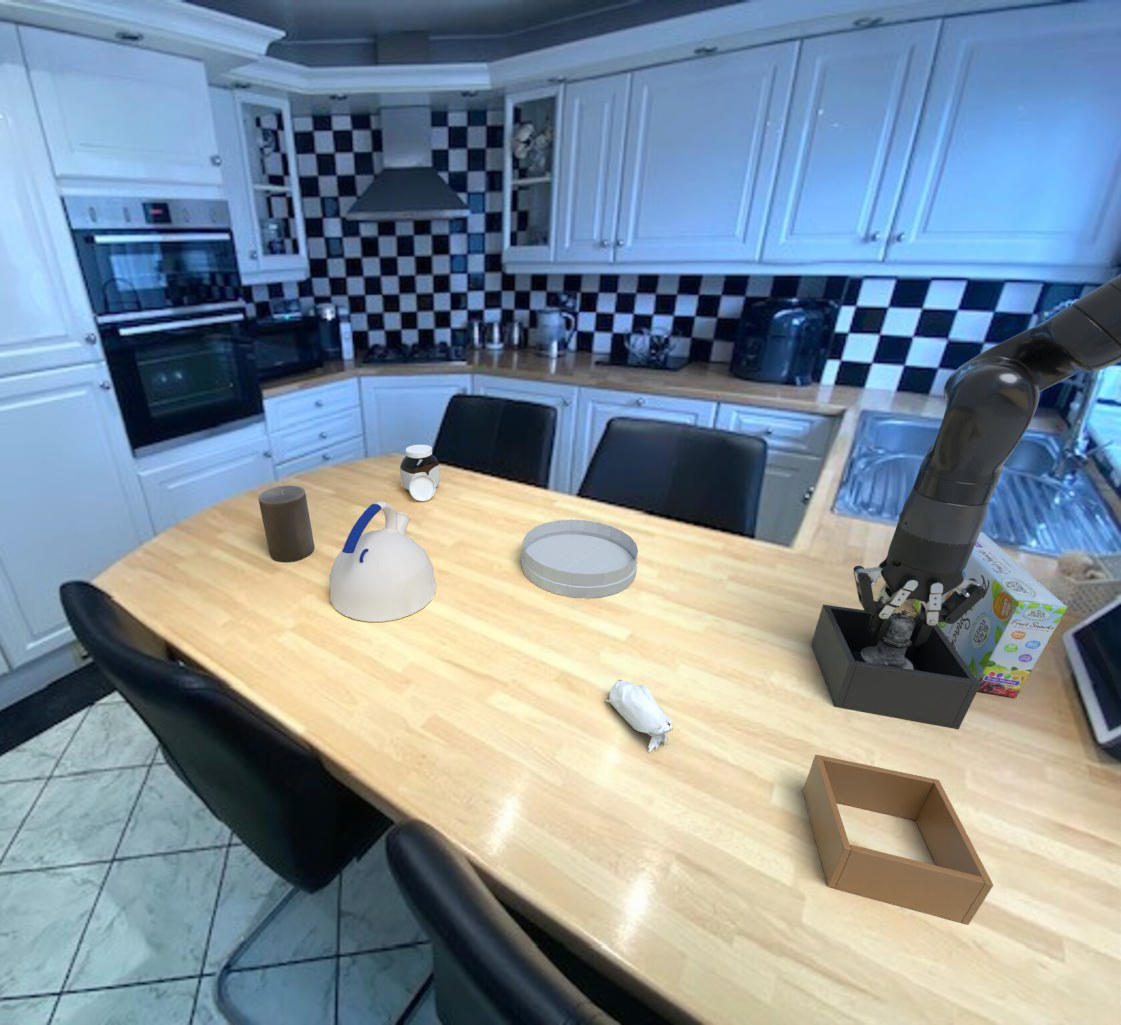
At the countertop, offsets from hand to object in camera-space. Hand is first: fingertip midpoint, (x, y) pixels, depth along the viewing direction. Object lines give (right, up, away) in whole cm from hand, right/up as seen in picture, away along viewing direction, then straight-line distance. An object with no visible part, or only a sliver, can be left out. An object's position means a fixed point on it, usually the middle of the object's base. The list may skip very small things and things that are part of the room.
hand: (894, 639), depth 76 cm
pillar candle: (-94, +9, +46) cm, 105 cm away
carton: (-16, -18, -18) cm, 30 cm away
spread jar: (-66, +22, +71) cm, 100 cm away
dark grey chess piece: (0, -7, +3) cm, 7 cm away
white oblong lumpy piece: (-36, -11, -1) cm, 37 cm away
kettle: (-72, +2, +31) cm, 78 cm away
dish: (-34, +6, +35) cm, 49 cm away
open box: (0, -7, +3) cm, 8 cm away
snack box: (+17, -3, +9) cm, 20 cm away
